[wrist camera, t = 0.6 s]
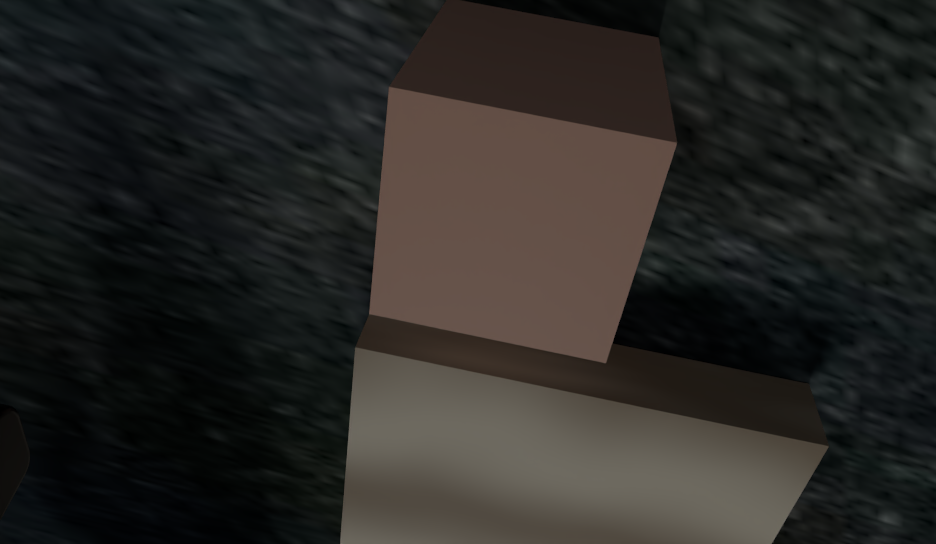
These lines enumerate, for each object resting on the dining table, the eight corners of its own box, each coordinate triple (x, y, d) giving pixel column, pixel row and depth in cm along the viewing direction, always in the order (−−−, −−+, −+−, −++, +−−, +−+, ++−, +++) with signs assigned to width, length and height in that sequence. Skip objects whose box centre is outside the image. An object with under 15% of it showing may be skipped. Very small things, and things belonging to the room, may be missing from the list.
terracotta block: (606, 220, 21) (606, 363, 16) (425, 183, 21) (369, 314, 16) (658, 37, 18) (677, 143, 13) (448, -3, 18) (389, 87, 13)
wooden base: (678, 628, 30) (683, 692, 28) (352, 556, 31) (334, 614, 29) (808, 384, 23) (828, 446, 21) (377, 295, 23) (355, 347, 21)
